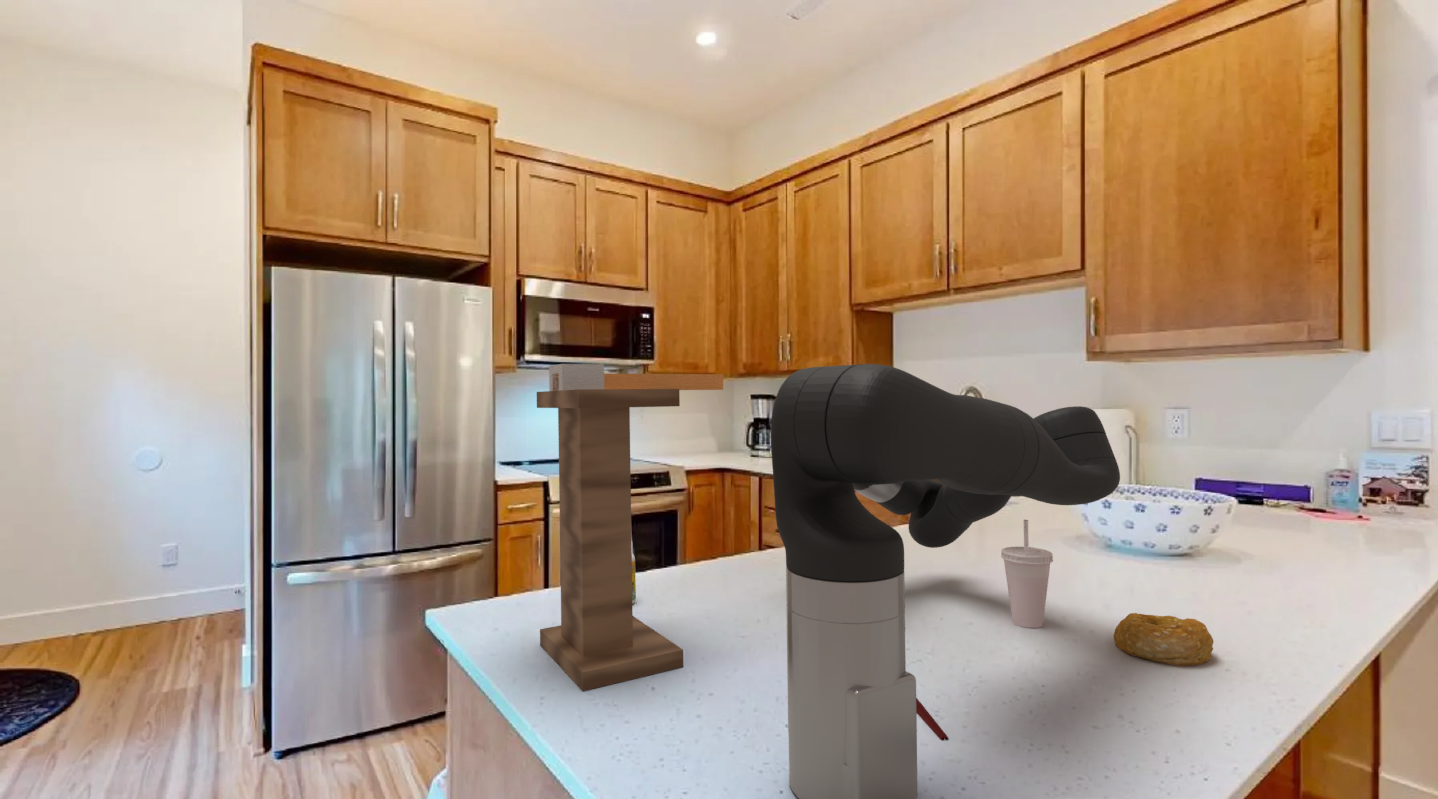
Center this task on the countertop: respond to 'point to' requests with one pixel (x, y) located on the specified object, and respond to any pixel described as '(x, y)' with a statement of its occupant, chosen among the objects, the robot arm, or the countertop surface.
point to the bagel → (1164, 639)
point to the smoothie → (1027, 581)
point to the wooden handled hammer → (626, 379)
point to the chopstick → (930, 720)
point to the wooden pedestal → (600, 541)
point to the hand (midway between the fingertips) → (791, 417)
